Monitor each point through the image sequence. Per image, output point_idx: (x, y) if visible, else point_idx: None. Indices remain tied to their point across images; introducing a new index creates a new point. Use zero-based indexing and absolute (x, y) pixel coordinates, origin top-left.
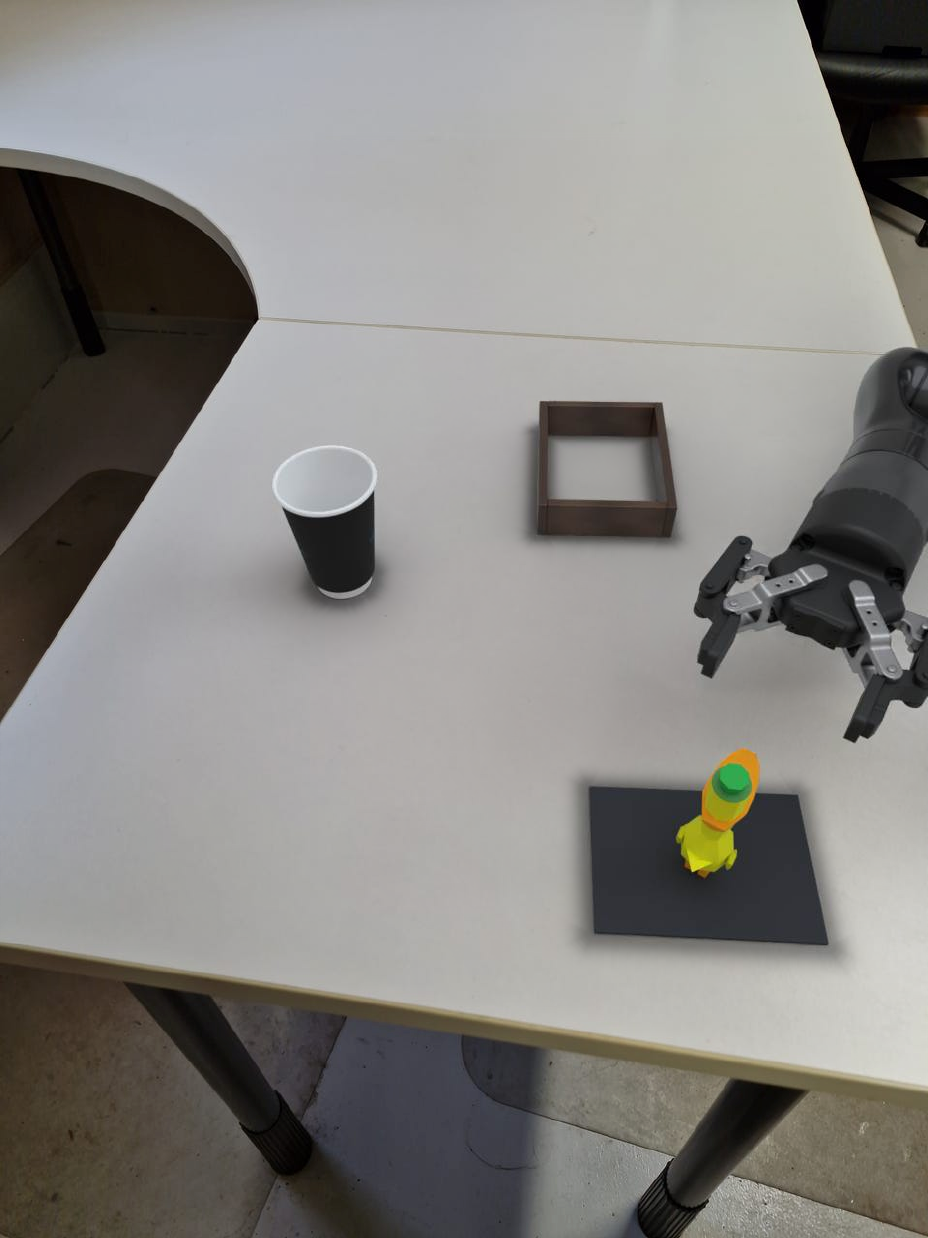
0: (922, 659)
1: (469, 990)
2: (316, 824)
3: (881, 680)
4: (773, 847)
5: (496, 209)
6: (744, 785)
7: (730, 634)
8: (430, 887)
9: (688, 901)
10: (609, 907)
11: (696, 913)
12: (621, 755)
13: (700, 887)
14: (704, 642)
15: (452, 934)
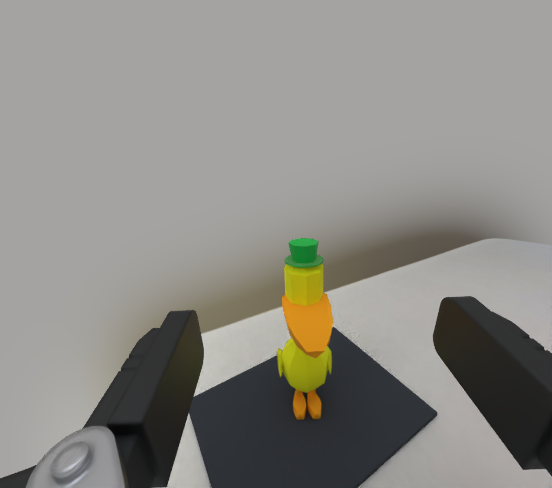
0: None
1: (359, 287)
2: (504, 297)
3: (122, 407)
4: (250, 463)
5: None
6: (291, 241)
7: (499, 339)
8: (423, 305)
9: None
10: (337, 340)
11: None
12: (461, 481)
13: None
14: (506, 323)
15: (389, 297)
